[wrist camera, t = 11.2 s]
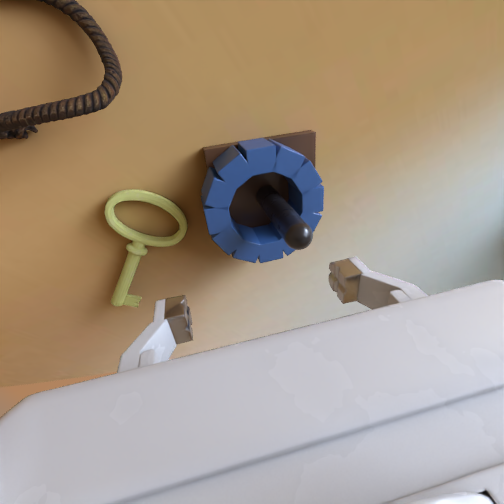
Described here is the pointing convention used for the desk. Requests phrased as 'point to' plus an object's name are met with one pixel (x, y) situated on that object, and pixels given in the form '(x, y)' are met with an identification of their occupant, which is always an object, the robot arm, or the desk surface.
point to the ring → (238, 172)
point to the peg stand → (270, 193)
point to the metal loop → (26, 118)
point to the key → (139, 239)
